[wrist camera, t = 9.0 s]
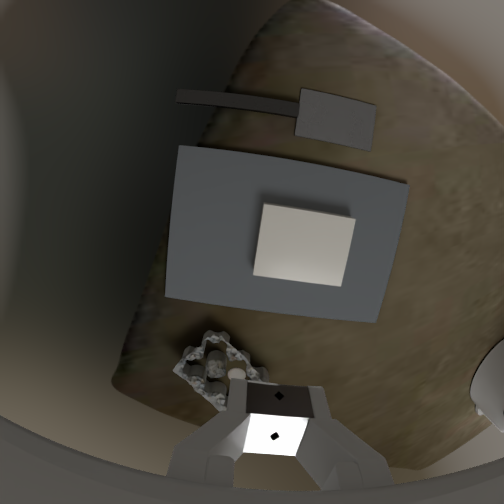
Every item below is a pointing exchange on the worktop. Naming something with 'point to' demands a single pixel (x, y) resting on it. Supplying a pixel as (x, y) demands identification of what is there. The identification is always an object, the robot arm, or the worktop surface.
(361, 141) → the turner
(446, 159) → the worktop surface
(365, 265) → the mat
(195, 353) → the egg carton
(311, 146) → the worktop surface
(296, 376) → the worktop surface
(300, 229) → the tile
